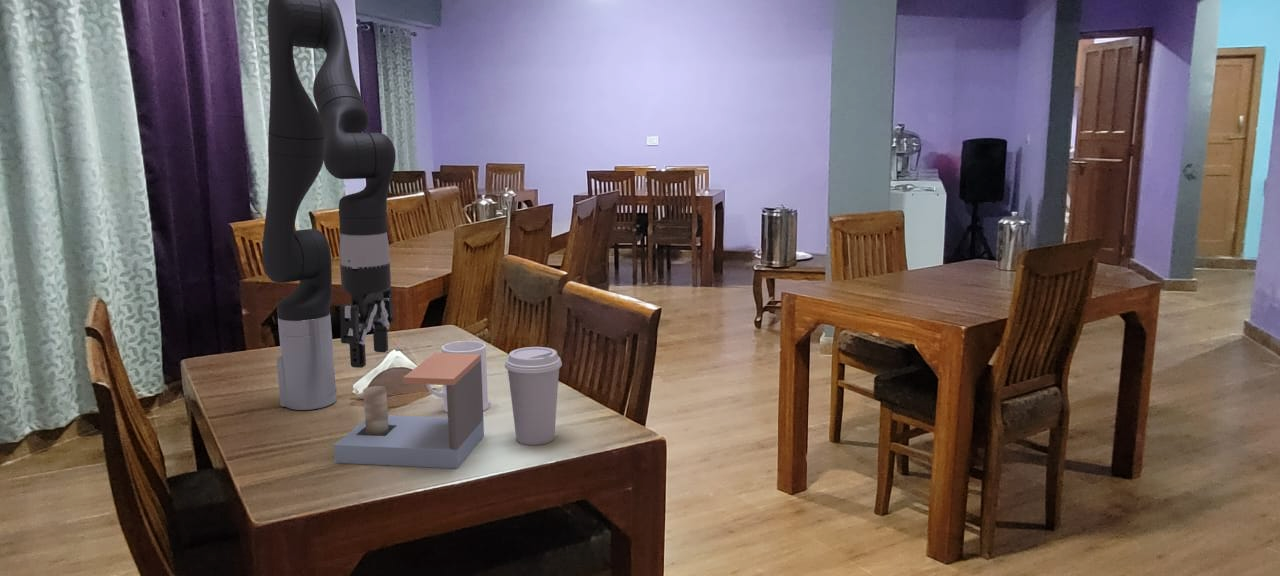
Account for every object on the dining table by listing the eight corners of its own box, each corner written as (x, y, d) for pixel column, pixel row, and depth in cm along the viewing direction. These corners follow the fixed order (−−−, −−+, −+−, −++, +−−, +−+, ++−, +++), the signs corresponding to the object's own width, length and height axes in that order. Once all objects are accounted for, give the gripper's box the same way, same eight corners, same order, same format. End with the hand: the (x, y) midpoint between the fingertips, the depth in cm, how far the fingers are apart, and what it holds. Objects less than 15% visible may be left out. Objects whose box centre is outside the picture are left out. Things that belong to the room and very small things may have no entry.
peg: (363, 450, 138) (359, 392, 136) (372, 442, 142) (368, 385, 140) (384, 451, 138) (380, 393, 136) (393, 443, 141) (389, 386, 139)
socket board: (335, 462, 133) (328, 374, 130) (372, 431, 147) (367, 350, 144) (457, 468, 131) (453, 379, 128) (484, 435, 145) (480, 354, 142)
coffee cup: (515, 452, 138) (512, 363, 135) (500, 432, 146) (497, 349, 143) (571, 443, 141) (569, 357, 138) (553, 424, 150) (551, 343, 147)
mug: (431, 420, 152) (428, 356, 150) (421, 406, 159) (417, 345, 157) (494, 410, 157) (492, 348, 155) (481, 397, 165) (479, 338, 162)
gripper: (362, 252, 141) (367, 346, 144) (320, 268, 127) (327, 371, 130) (405, 254, 140) (409, 348, 143) (368, 270, 126) (373, 373, 129)
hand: (370, 359), depth 137 cm, fingers open, 8 cm apart
